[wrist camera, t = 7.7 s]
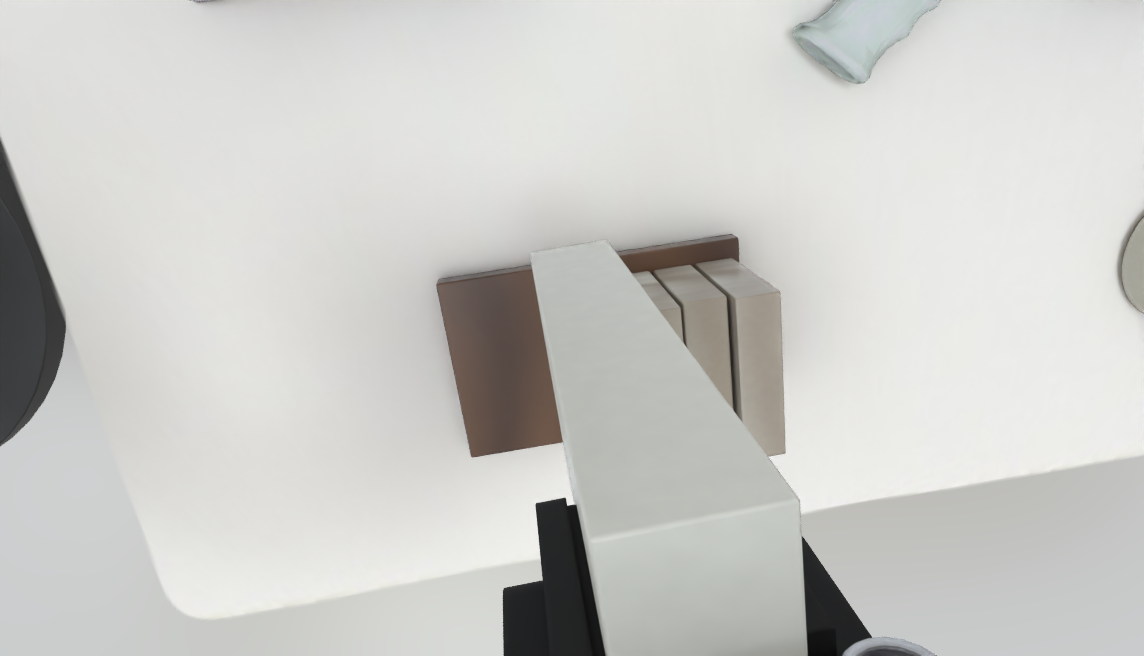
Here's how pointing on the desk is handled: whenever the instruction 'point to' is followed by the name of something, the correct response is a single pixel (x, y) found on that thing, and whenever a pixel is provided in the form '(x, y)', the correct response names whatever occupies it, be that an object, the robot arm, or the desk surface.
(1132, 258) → the travel mug
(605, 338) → the white book
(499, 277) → the leaning book row
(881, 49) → the tape dispenser
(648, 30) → the desk surface
